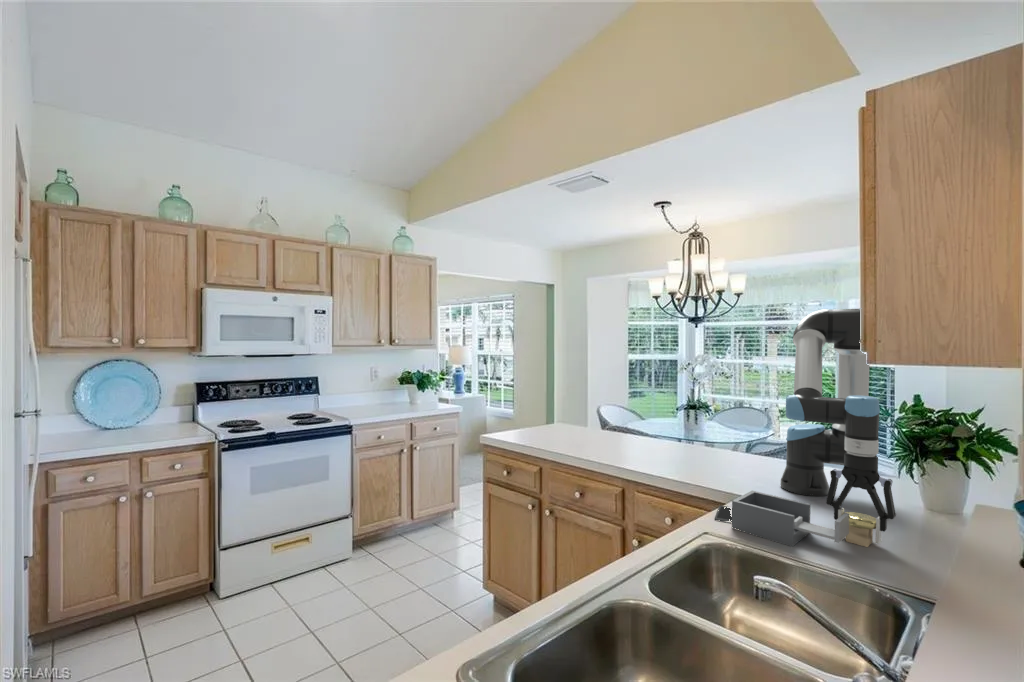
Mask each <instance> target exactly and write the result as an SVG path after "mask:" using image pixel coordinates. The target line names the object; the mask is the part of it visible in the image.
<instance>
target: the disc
mask: <svg viewBox="0 0 1024 682" xmlns="http://www.w3.org/2000/svg"><path fill="white" fill-rule="evenodd" d="M844 513H849V525H850V526H853V527H857V528H862V529H873V530H876V518H877V517H874V516H872V515H869V514H866V513H860V512H854V511H844ZM844 513H843V514H844ZM843 514H842V515H843Z"/></svg>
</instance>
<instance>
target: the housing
mask: <svg viewBox="0 0 1024 682" xmlns="http://www.w3.org/2000/svg"><path fill="white" fill-rule="evenodd" d="M731 507H732V524H731V528H732V527H733V528H736V529H739V530H741V531H740V532H742V531H745V532H747V533H746V534H749V533H751V534H750V535H752V534H754V535H753V536H755V535H757V536H756V537H759V536H761V537H760V538H762V537H763V539H765V538H767V539H766V540H769V539H770V541H772V540H773V541H772V542H775V541H776V543H780V544H783V545H786V546H789V547H794V546H795V545H796V544H797V543H799V542H800V541H801V540H802V539H804V537H806V536H808V535H809V533H807V532H804V531H800V530H796V529H794V520H795V519H796V518H798V517H799V516H800V517H803V519H802V521H803V522H807V523H811V508H812V507H811V503H807V502H802V501H797V500H794V499H789V498H787V497H782V496H776V495H773V494H769V493H765V492H764V493H763V492H760V491H757V490H751V491H748V492H747V493H744V494H743V495H741V496H739V497H737V498H735V499H734V500H732V501H731ZM739 530H738V531H739ZM745 532H744V533H745Z"/></svg>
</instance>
